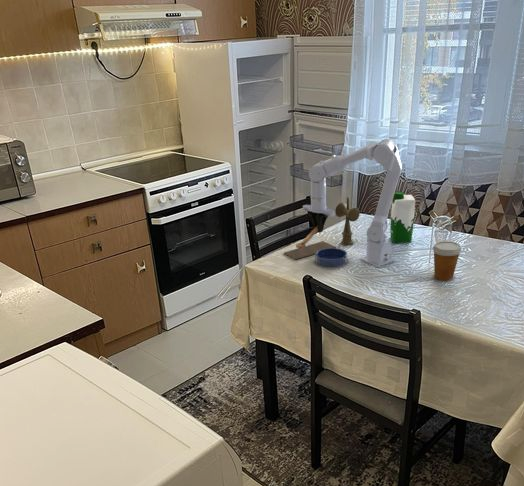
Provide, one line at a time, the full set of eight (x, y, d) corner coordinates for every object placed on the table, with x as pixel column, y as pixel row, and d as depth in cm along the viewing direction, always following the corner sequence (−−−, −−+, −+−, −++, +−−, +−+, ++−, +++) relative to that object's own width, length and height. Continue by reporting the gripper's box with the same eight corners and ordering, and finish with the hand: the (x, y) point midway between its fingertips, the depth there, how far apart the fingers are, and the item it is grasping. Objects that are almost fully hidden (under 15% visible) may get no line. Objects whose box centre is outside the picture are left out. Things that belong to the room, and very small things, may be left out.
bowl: (353, 262, 210) (353, 254, 208) (328, 270, 205) (328, 262, 203) (333, 253, 219) (333, 245, 217) (309, 261, 214) (309, 253, 212)
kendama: (345, 239, 232) (346, 192, 222) (359, 245, 225) (361, 197, 214) (334, 242, 230) (334, 195, 219) (348, 249, 222) (349, 200, 212)
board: (322, 243, 230) (322, 241, 229) (336, 249, 223) (336, 246, 223) (283, 254, 221) (283, 252, 221) (296, 261, 215) (296, 258, 214)
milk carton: (388, 237, 231) (390, 190, 221) (409, 235, 231) (413, 188, 221) (391, 244, 224) (395, 196, 213) (414, 243, 224) (418, 194, 213)
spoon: (301, 249, 206) (300, 234, 202) (294, 247, 208) (293, 232, 205) (324, 238, 214) (324, 224, 211) (317, 236, 216) (317, 222, 213)
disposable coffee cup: (443, 285, 188) (447, 252, 182) (424, 276, 196) (427, 244, 189) (463, 278, 192) (468, 246, 186) (444, 269, 199) (447, 238, 193)
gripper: (340, 197, 203) (339, 232, 210) (310, 191, 212) (311, 225, 219) (328, 201, 199) (328, 237, 206) (298, 195, 208) (299, 229, 215)
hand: (318, 231), depth 212 cm, fingers closed on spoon
